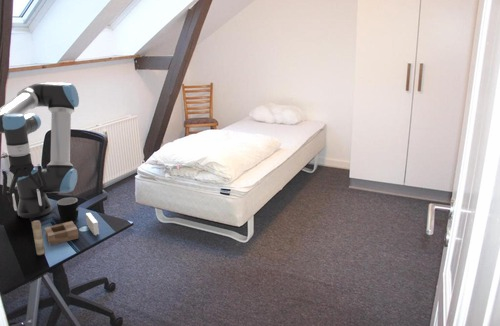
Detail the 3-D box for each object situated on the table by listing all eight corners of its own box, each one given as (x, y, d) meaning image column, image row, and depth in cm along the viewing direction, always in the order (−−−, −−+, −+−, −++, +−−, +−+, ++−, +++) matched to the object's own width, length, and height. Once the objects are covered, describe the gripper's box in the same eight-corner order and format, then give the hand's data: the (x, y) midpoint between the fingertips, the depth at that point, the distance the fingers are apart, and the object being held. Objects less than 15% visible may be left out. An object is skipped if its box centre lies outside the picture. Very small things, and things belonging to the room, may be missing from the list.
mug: (80, 222, 186) (78, 203, 183) (59, 226, 182) (56, 206, 179) (79, 212, 196) (77, 193, 193) (59, 215, 192) (56, 196, 189)
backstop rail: (86, 225, 184) (85, 213, 182) (91, 224, 185) (90, 212, 183) (94, 235, 174) (93, 223, 173) (99, 234, 176) (97, 222, 174)
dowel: (36, 252, 160) (31, 221, 156) (44, 250, 162) (39, 219, 157) (37, 255, 158) (32, 224, 153) (45, 253, 159) (40, 222, 155)
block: (45, 236, 172) (44, 227, 171) (73, 229, 179) (72, 220, 178) (50, 245, 165) (48, 236, 164) (78, 238, 172) (77, 228, 170)
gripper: (-12, 160, 145) (-2, 216, 152) (50, 152, 157) (58, 204, 164) (-14, 155, 150) (-4, 209, 157) (47, 147, 162) (54, 198, 169)
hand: (28, 207), depth 161 cm, fingers open, 8 cm apart
